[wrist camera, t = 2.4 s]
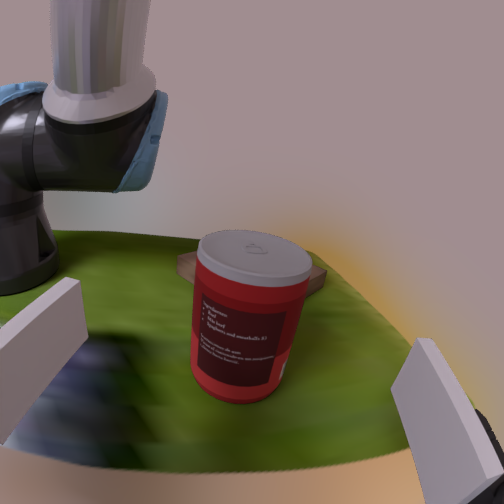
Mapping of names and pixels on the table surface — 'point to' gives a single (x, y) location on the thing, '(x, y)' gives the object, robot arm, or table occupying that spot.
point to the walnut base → (188, 265)
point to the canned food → (245, 312)
